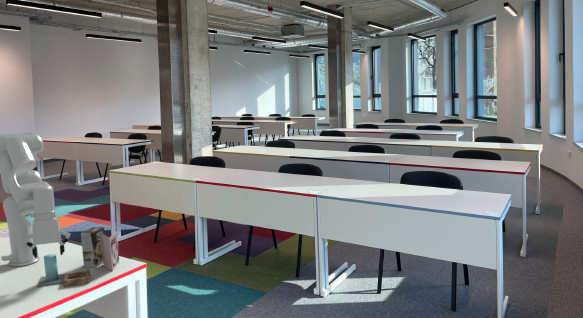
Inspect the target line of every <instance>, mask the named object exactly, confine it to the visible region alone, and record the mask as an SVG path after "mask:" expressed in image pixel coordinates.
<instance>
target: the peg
mask: <svg viewBox="0 0 583 318" xmlns="http://www.w3.org/2000/svg"><path fill="white" fill-rule="evenodd" d="M43 262H44V272H45V273H44V274H45V276H46V281H54V280H57V279H58V274H59V270H58V269H59V268H58V262H57V254H56V253H49V254H45V255H44V256H43Z"/></svg>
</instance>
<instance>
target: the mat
mask: <svg viewBox="0 0 583 318" xmlns="http://www.w3.org/2000/svg"><path fill="white" fill-rule="evenodd" d="M66 273H67V272H66ZM66 273H58V279H57V280H54V281H46V275H44V276H40V278H39V281H38V283H37V286H36V287H37V288H41V287H47V286H54V285H60V284H64V279H65V276H66Z"/></svg>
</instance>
